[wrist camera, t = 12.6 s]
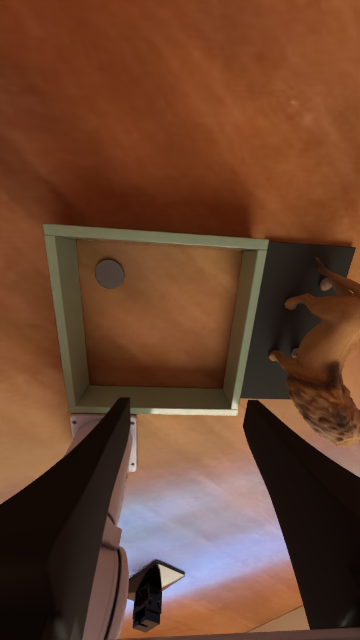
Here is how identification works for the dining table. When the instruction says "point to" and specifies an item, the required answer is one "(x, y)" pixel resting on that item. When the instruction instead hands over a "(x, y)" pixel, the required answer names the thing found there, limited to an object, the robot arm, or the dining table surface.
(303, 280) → the mat
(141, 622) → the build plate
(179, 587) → the dining table surface
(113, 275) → the green square tray
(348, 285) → the lion figurine
